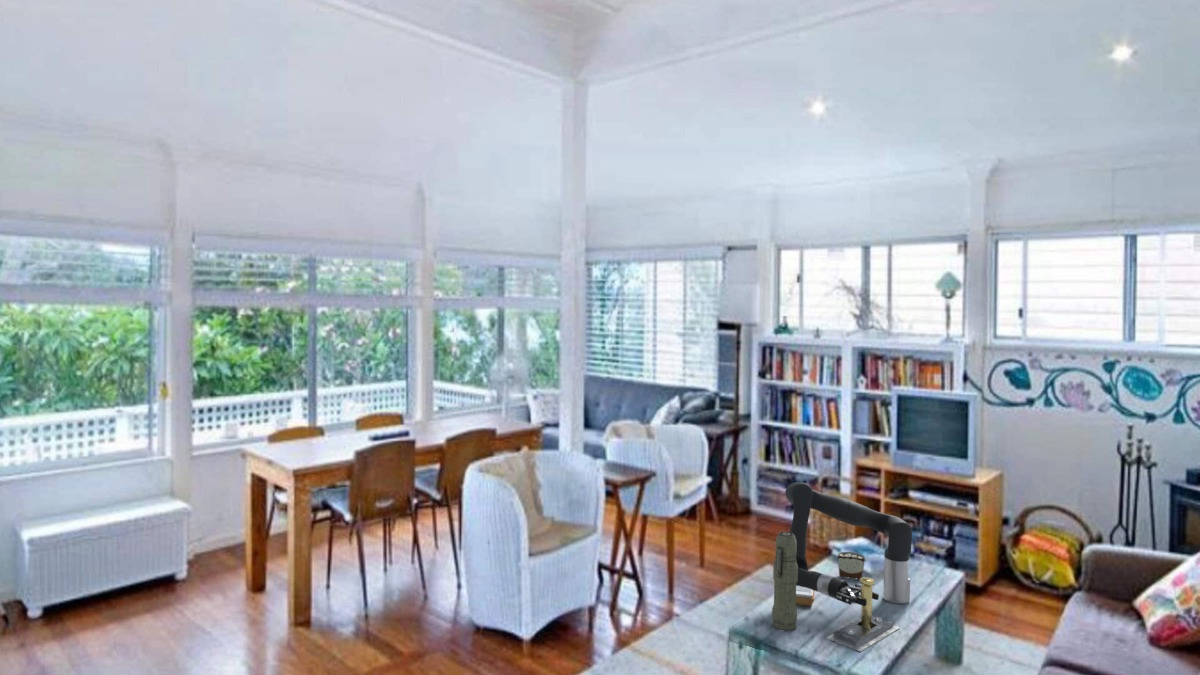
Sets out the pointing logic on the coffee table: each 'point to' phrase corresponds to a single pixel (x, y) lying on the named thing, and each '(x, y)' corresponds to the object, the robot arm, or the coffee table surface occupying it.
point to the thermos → (785, 582)
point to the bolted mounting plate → (863, 633)
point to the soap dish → (804, 596)
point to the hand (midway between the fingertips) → (872, 600)
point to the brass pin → (867, 595)
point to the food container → (851, 564)
